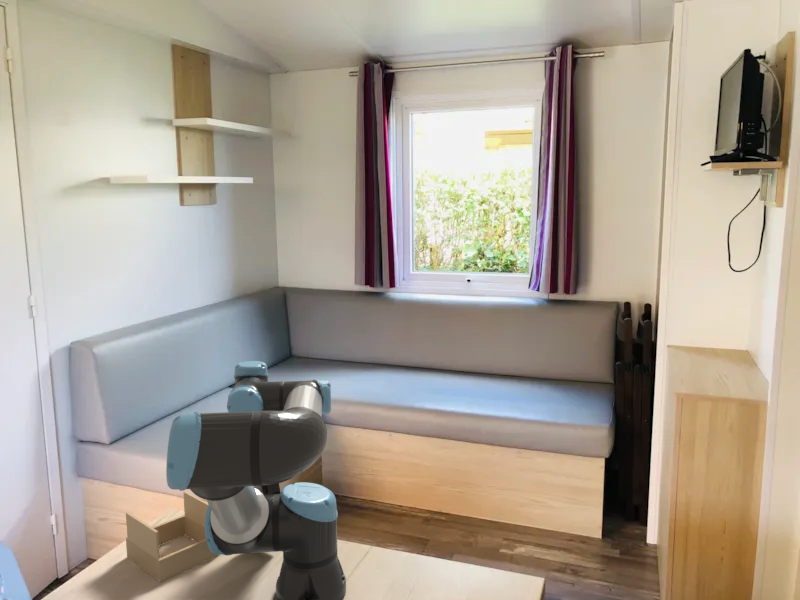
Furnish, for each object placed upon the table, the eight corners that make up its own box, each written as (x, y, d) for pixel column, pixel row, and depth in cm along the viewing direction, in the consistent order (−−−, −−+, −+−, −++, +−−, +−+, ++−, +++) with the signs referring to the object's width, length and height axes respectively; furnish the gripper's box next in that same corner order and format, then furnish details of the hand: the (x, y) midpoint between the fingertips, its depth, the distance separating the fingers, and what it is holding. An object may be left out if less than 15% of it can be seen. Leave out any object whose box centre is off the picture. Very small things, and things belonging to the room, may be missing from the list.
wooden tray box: (220, 553, 157) (218, 509, 155) (160, 581, 145) (157, 533, 143) (186, 532, 167) (183, 490, 165) (127, 557, 155) (124, 511, 154)
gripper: (295, 433, 148) (297, 525, 152) (239, 413, 163) (242, 498, 166) (268, 442, 143) (271, 538, 146) (213, 420, 157) (217, 508, 160)
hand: (256, 516), depth 156 cm, fingers closed on soya milk, 9 cm apart
